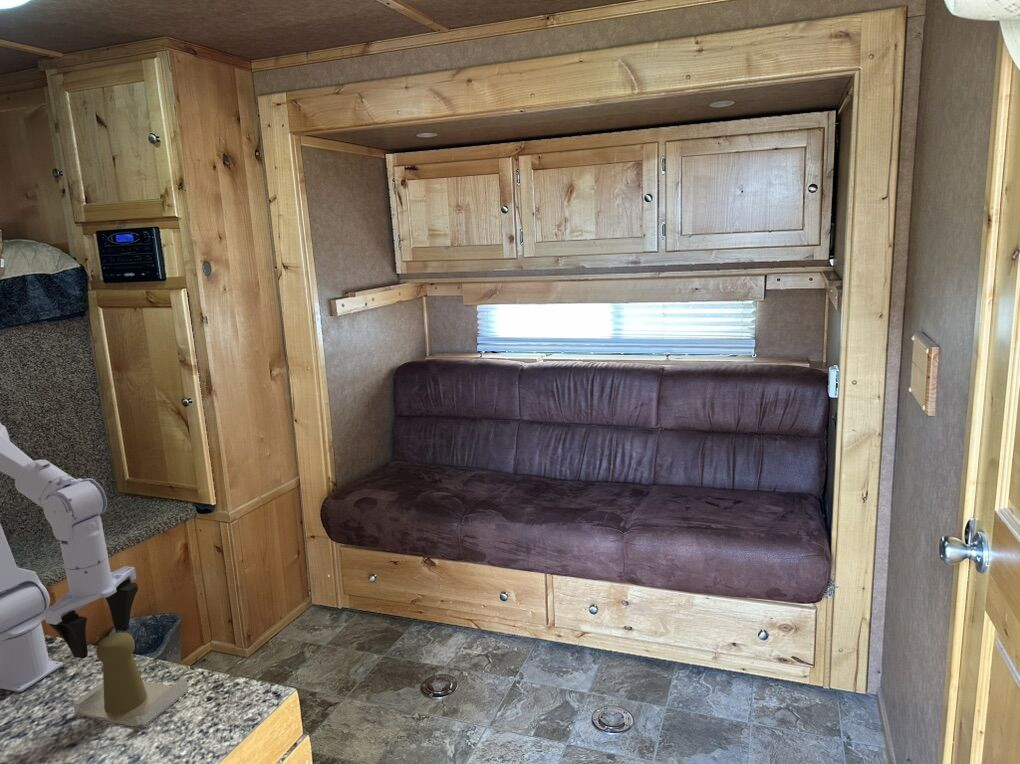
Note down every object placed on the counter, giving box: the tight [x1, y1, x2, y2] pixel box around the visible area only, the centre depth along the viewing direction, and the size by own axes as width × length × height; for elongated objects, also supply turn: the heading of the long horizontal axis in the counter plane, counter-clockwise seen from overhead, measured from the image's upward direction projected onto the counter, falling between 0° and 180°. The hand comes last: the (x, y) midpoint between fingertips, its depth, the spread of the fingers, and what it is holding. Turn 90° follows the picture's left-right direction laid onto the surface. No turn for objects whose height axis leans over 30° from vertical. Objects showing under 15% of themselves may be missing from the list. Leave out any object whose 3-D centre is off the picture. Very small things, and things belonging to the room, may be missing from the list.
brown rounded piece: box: [95, 632, 147, 714], centre depth 112 cm, size 6×6×11 cm
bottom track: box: [72, 679, 190, 729], centre depth 113 cm, size 14×9×2 cm, turn 71°
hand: (102, 642), depth 112 cm, fingers open, 7 cm apart
